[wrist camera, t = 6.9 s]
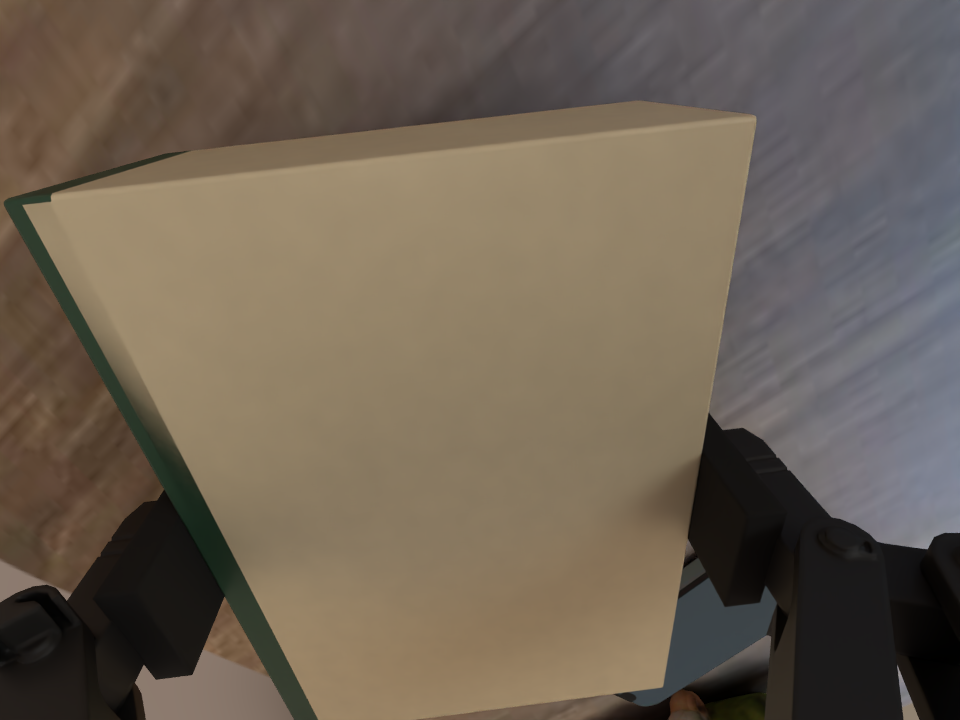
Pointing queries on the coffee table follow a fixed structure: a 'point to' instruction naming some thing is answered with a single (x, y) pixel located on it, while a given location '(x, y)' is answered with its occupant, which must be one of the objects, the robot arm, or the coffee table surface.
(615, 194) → the book
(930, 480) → the coffee table surface
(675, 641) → the smartphone
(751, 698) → the figurine
